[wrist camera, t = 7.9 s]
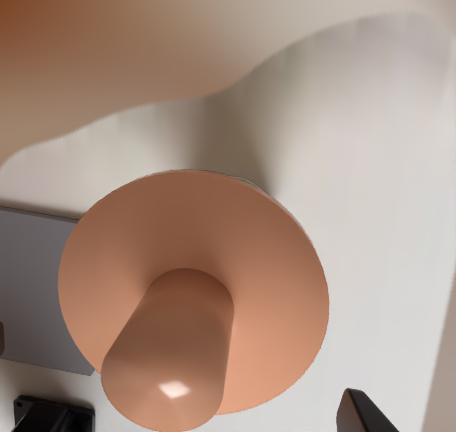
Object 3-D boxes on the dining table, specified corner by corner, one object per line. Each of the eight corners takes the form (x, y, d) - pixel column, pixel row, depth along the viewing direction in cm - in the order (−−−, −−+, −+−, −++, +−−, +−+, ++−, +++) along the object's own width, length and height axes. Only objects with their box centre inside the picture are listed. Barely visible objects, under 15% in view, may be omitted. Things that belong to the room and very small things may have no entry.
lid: (295, 416, 13) (308, 543, 9) (71, 373, 14) (-3, 477, 10) (354, 193, 10) (408, 244, 6) (69, 149, 11) (-38, 171, 7)
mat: (94, 370, 26) (90, 376, 25) (-55, 340, 26) (-62, 345, 26) (98, 223, 22) (93, 226, 21) (-76, 193, 23) (-85, 195, 22)
